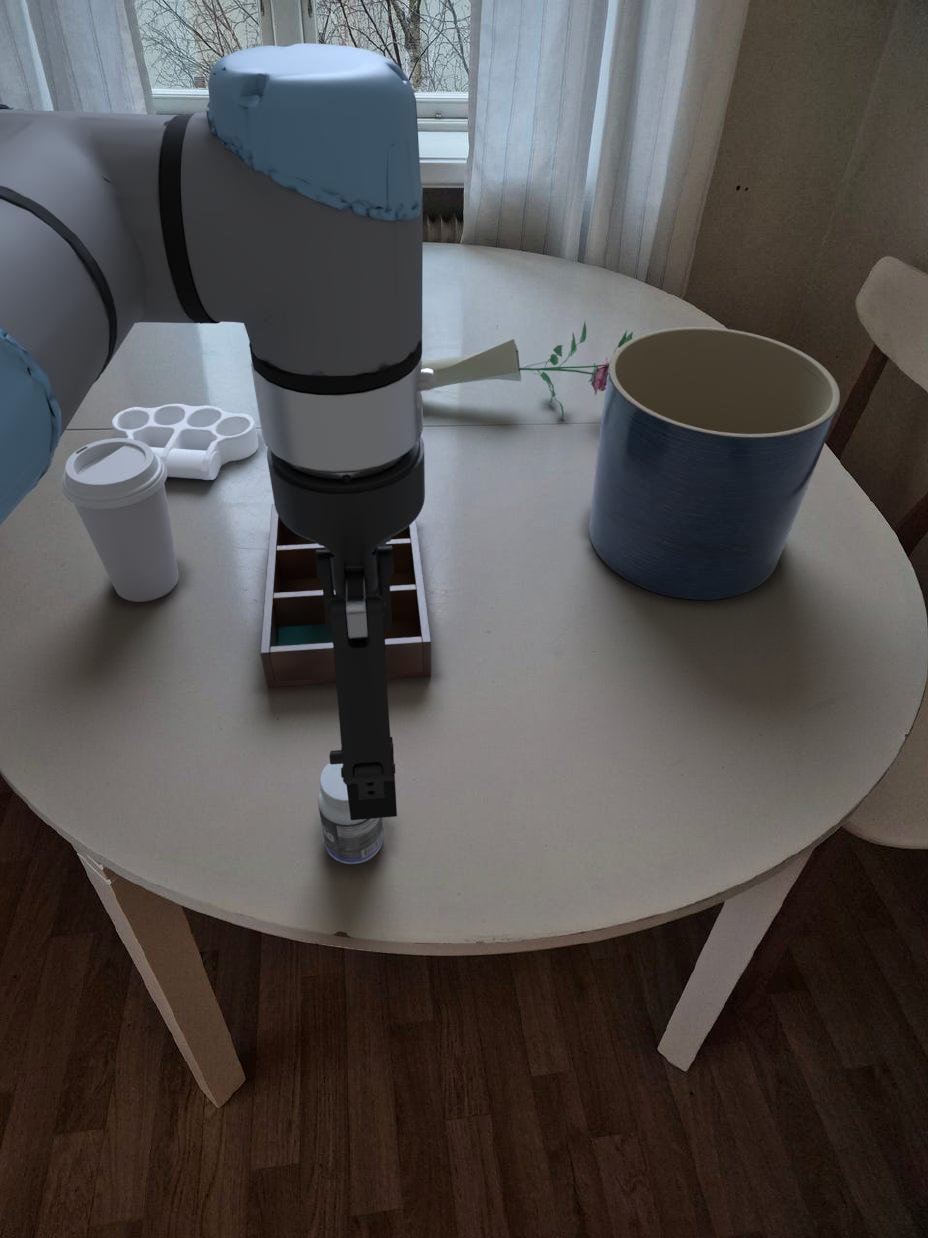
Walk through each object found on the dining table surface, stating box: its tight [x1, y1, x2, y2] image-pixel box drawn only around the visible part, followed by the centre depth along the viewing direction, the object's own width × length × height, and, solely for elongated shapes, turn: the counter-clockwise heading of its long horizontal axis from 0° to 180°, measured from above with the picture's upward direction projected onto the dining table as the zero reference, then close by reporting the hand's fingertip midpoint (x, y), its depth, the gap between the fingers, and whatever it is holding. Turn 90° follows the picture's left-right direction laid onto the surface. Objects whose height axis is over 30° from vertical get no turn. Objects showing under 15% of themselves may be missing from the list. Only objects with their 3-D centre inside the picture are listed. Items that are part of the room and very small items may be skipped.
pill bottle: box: [317, 762, 384, 865], centre depth 66 cm, size 5×5×8 cm
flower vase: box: [420, 321, 634, 421], centre depth 116 cm, size 12×12×35 cm
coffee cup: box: [61, 437, 180, 603], centre depth 86 cm, size 10×10×15 cm
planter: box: [588, 326, 841, 601], centre depth 91 cm, size 22×22×20 cm
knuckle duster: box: [111, 403, 259, 481], centre depth 108 cm, size 3×18×15 cm
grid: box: [259, 503, 432, 688], centre depth 88 cm, size 15×23×5 cm
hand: (369, 724), depth 56 cm, fingers open, 13 cm apart
